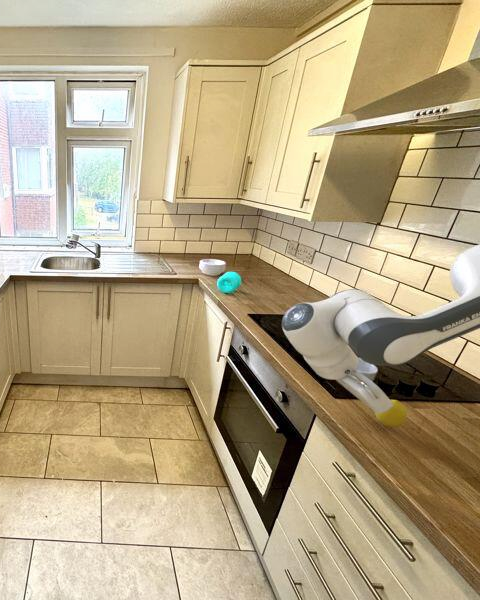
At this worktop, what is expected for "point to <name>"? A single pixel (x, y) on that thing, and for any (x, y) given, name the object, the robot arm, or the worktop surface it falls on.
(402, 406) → the lemon
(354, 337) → the robot arm
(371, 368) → the pale grey round dish
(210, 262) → the paper bowls
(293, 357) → the worktop surface
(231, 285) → the turquoise rounded cylinder
